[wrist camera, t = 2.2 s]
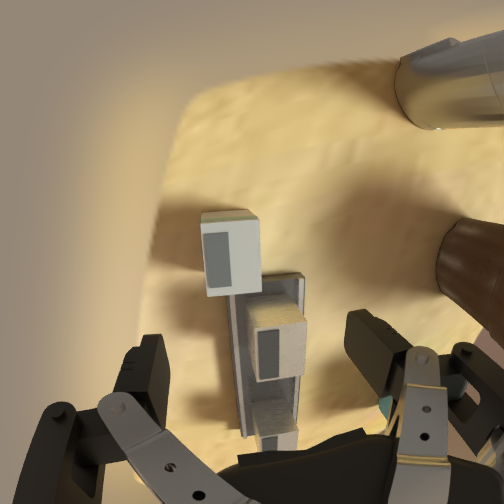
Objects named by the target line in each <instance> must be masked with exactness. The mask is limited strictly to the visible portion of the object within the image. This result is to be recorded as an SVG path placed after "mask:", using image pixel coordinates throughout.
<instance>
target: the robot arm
mask: <svg viewBox="0 0 504 504" xmlns="http://www.w3.org/2000/svg"><path fill="white" fill-rule="evenodd" d="M400 62H401V65H400V67H399V69H398V70H397V73H396V76H395V90H396V94H397V98H398V101H399V103H400V106H401V107H402V109H403V111H404V113H405V114H406V115H407V117H408V118H409V119H410V120H411V121H412V122H413V123H414V124H415V125H417V126H418V127H420V128H422V129H425V130H444V129H456V128H478V127H504V30H502V31H498V32H495V33H491V34H487V35H484V36H480V37H477V38H473V39H470V40H467V41H464V42H459V41H458V40H456V39H454V38H447V39H444V40H442V41H440V42H437V43H434V44H432V45H429V46H427V47H424V48H422V49H420V50H417V51H415V52H412V53H410V54H408V55H405V56H403V57H401V58H400ZM344 347H345V351H346V353H347V355H348V356H349V357H350V359H351V360H352V361H353V363H354V364H355V365H356V367H357V368H358V369H359V371H360V372H361V373H362V375H363V376H364V377H365V379H366V380H367V381H368V383H369V384H370V385H371V387H372V388H373V389H374V391H375V392H376V393H377V395H378V396H379V397H380V399H382V398H385V397H387V396H390V395H391V396H392V397H393V398H392V401H391V404H390V410H389V415H388V420H387V425H386V430H385V434H384V435H379V434H369V435H366V433H365V431H364V430H363V428H359V429H355V430H352V431H349V432H346V433H343V434H339V435H336V436H333V437H331V438H329V439H327V440H326V441H324V442H322V443H320V444H318V445H316V446H313V447H311V448H309V449H307V450H293V451H279V450H269V451H263V452H256V453H249V454H241V455H237V457H238V464H235V465H232V466H230V467H228V468H225V469H223V470H222V471H220V472H218V473H217V474H216V473H215V472H214V471H212V470H211V469H210V468H209V467H208V466H206V465H205V464H204V463H203V462H202V461H201V460H200V459H199V458H197V457H196V456H195V455H194V454H193V453H192V452H191V451H190V450H189V449H188V448H187V447H186V446H185V445H184V444H182V443H181V442H180V441H179V440H178V439H177V438H176V437H175V436H174V435H173V434H172V433H171V432H170V431H169V430H168V429H165V427H166V415H167V405H168V395H169V385H170V366H169V361H168V357H167V353H166V349H165V344H164V340H163V336H162V334H148V335H143V338H142V341H141V344H140V347H132V348H131V349H130V350H129V351H128V352H127V353H126V355H125V357H124V360H123V364H122V366H121V370H120V372H119V375H118V377H117V380H116V383H115V386H114V389H113V392H112V393H110V394H108V395H106V396H105V397H103V398H102V399H101V400H100V401H99V403H98V406H97V408H94V409H89V410H83V411H76V409H75V408H74V406H73V405H72V404H70V403H68V402H56V403H53V404H51V405H49V406H48V407H47V408H46V409H45V410H44V412H43V414H42V417H41V419H40V421H39V424H38V426H37V429H36V431H35V434H34V436H33V439H32V442H31V444H30V447H29V450H28V453H27V456H26V459H25V461H24V464H23V468H22V471H21V474H20V477H19V481H18V484H17V488H16V491H15V495H14V499H13V503H12V504H101V501H102V491H103V482H104V473H105V466H106V464H108V463H113V462H119V461H124V460H127V461H128V463H129V464H130V465H131V467H132V468H133V469H134V471H135V472H136V473H137V475H138V476H139V477H140V478H141V480H142V481H143V482H144V483H145V485H146V486H147V487H148V488H149V489H150V490H151V492H152V493H153V494H154V495H155V496H156V498H157V499H158V500H159V501H160V503H161V504H504V369H502V368H501V367H500V366H499V365H498V364H497V363H495V362H494V361H493V360H492V359H491V358H490V357H489V356H487V355H486V354H485V353H484V352H483V351H481V350H480V349H479V348H478V347H477V346H475V345H474V344H471V343H468V342H459V343H456V344H455V345H454V346H453V349H452V352H451V354H446V355H437V353H436V352H435V351H434V350H432V349H430V348H428V347H423V346H416V347H413V346H412V345H411V344H410V343H409V342H408V341H407V340H406V339H405V338H404V337H402V336H401V335H400V334H399V333H397V331H396V330H395V329H394V328H392V327H391V326H390V325H389V324H388V323H387V322H386V321H384V320H382V319H379V318H377V317H374V316H373V315H372V314H371V313H370V312H368V311H367V310H366V309H360V310H355V311H350V312H348V314H347V320H346V329H345V337H344ZM469 383H470V384H471V385H472V386H473V387H474V388H475V389H476V390H477V391H478V392H479V394H480V398H481V399H480V403H479V405H477V404H476V403H475V402H474V401H473V400H472V398H471V397H470V396H469V395H468V394H467V393H466V392H465V390H466V388H467V386H468V384H469ZM448 420H449V421H450V423H451V424H452V425H453V427H454V428H455V429H456V430H457V432H458V433H459V434H460V435H461V437H462V438H463V440H464V441H465V442H466V444H467V445H468V446H469V448H470V449H471V450H472V452H473V453H474V454H475V456H476V457H477V463H475V462H471V461H467V460H464V459H460V458H456V457H453V456H450V455H447V452H448Z"/></svg>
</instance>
